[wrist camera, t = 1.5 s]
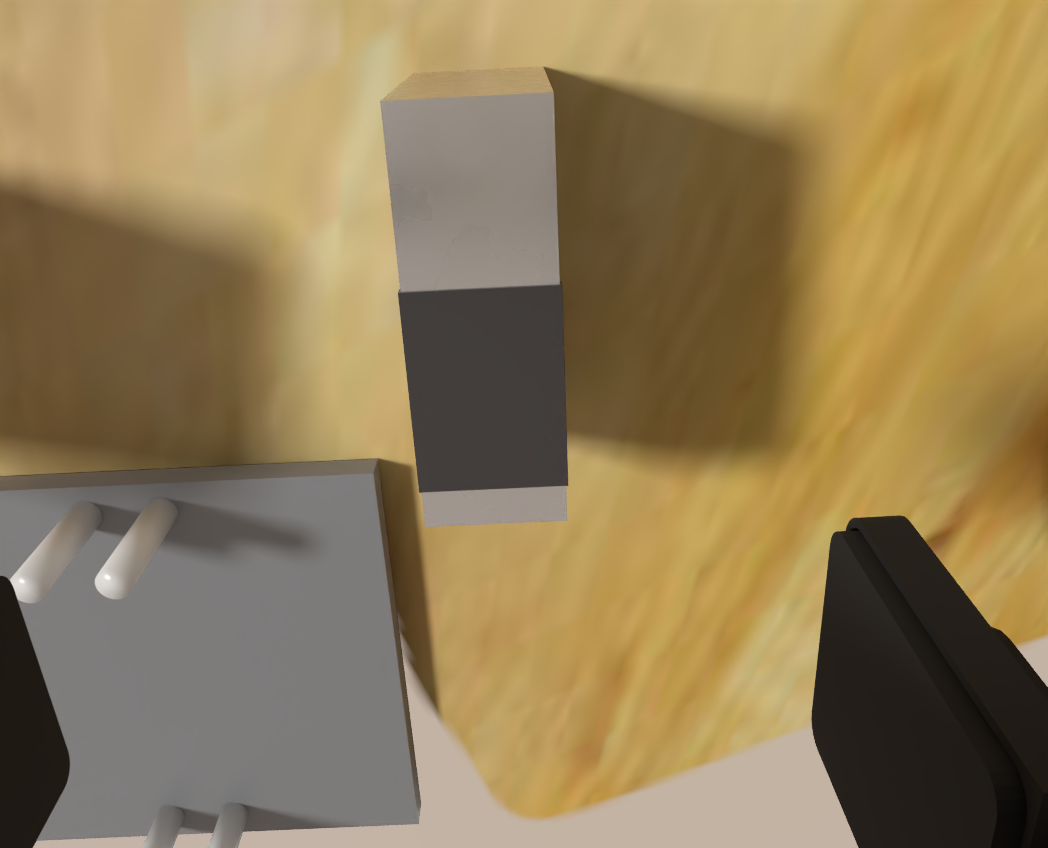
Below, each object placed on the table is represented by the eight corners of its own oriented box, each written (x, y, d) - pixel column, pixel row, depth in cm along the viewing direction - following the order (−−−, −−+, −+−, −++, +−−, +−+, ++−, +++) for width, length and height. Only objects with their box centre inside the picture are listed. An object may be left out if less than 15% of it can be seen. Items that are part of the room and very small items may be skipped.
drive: (545, 66, 25) (556, 92, 19) (556, 405, 29) (569, 521, 23) (411, 73, 25) (377, 101, 19) (442, 410, 29) (423, 528, 23)
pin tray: (377, 458, 30) (353, 542, 25) (420, 802, 36) (407, 919, 32) (-119, 482, 30) (-231, 569, 26) (10, 821, 36) (-61, 939, 32)
